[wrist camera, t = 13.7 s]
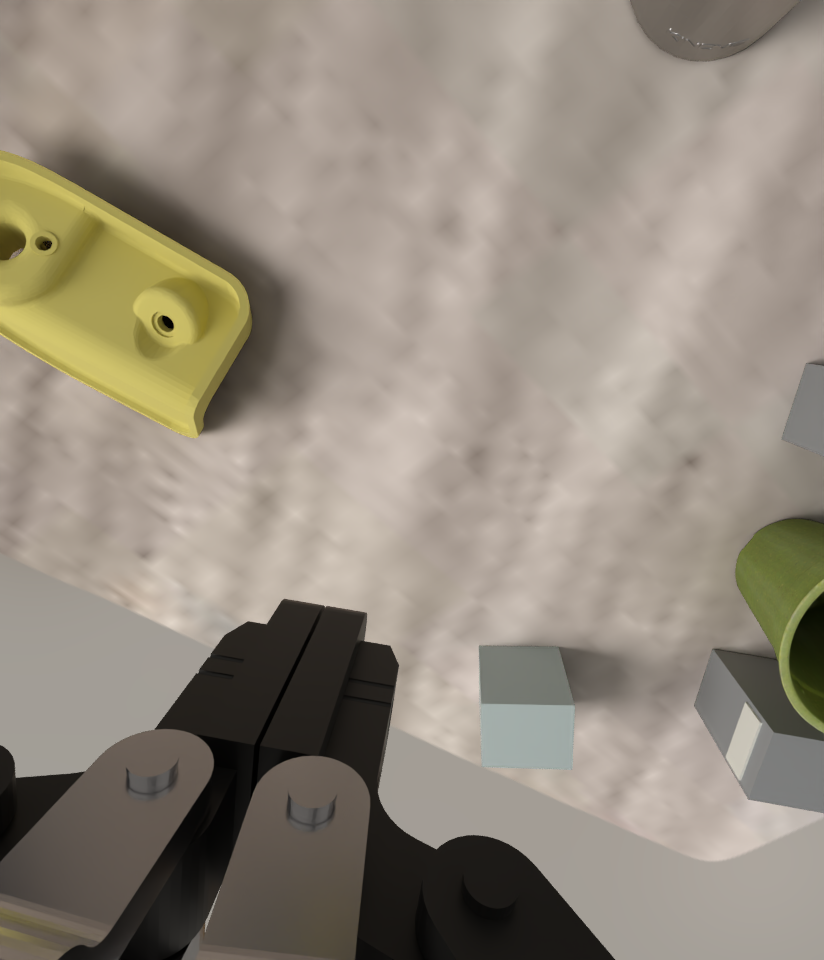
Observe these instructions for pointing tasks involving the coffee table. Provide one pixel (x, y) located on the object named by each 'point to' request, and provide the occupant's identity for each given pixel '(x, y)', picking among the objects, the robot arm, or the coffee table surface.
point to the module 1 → (525, 708)
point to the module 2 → (762, 731)
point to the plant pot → (790, 606)
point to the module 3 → (808, 412)
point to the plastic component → (114, 299)
